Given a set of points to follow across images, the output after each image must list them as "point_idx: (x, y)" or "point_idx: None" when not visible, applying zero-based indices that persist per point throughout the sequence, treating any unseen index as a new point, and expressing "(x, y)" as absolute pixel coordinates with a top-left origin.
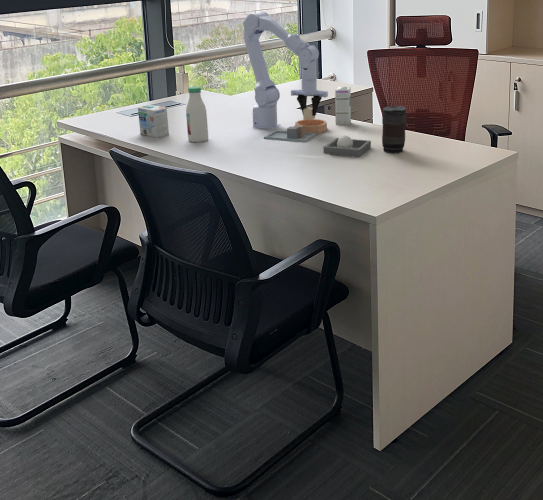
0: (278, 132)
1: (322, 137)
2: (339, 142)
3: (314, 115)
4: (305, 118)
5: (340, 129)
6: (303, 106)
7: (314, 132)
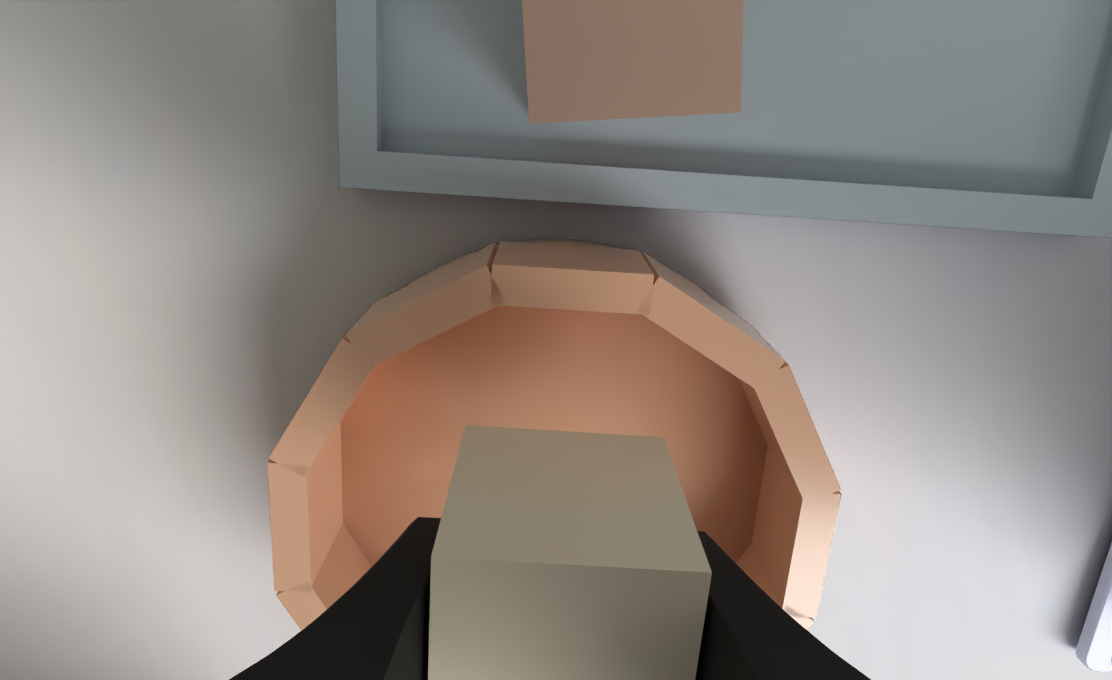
0: (1041, 192)
1: (227, 137)
2: None
3: (409, 527)
4: (617, 446)
5: (178, 644)
6: (733, 666)
7: (415, 282)
